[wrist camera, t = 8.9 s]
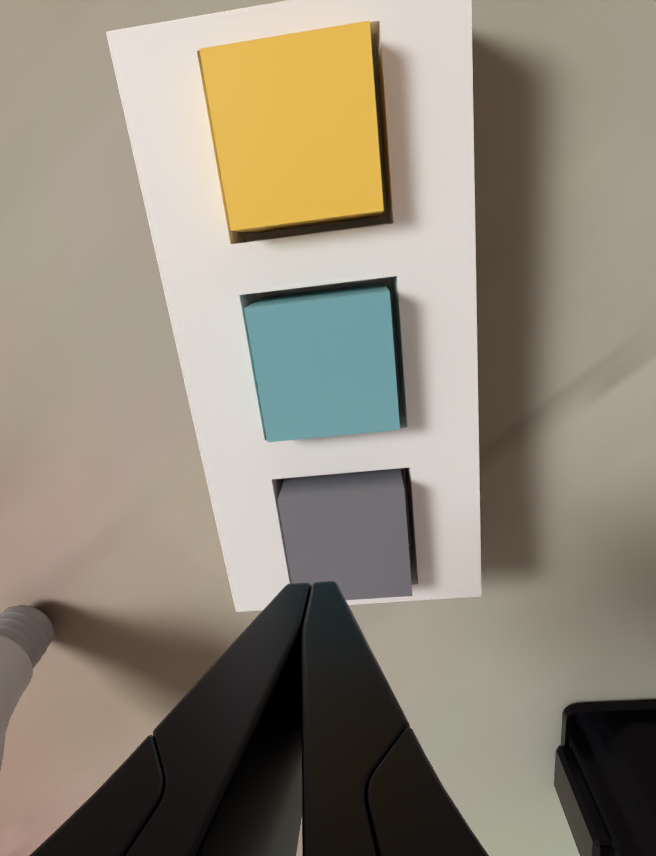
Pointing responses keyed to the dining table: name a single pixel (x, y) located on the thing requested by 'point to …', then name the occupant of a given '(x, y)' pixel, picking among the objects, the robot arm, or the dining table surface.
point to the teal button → (325, 362)
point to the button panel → (323, 280)
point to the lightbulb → (19, 656)
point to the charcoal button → (348, 532)
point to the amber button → (296, 128)
